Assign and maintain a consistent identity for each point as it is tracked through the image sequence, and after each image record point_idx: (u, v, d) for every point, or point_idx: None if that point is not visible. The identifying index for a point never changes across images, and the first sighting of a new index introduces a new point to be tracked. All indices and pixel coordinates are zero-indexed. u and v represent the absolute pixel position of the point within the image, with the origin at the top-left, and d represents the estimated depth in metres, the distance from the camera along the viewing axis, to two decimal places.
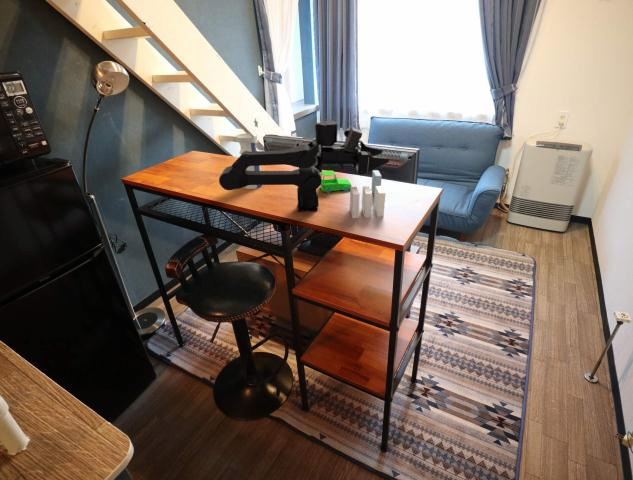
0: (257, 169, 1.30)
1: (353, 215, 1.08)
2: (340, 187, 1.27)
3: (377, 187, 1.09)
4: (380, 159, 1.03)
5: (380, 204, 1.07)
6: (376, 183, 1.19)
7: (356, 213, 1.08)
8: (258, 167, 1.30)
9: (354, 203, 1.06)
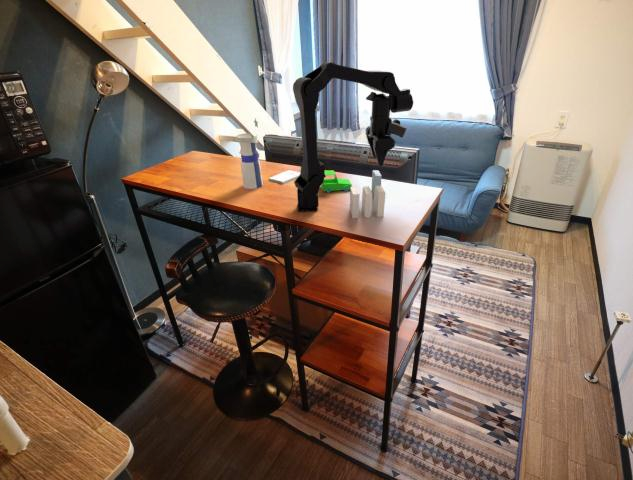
0: (257, 169, 1.30)
1: (353, 215, 1.08)
2: (340, 187, 1.28)
3: (377, 187, 1.09)
4: (383, 158, 1.12)
5: (380, 204, 1.07)
6: (376, 183, 1.19)
7: (356, 213, 1.08)
8: (258, 167, 1.30)
9: (354, 203, 1.06)
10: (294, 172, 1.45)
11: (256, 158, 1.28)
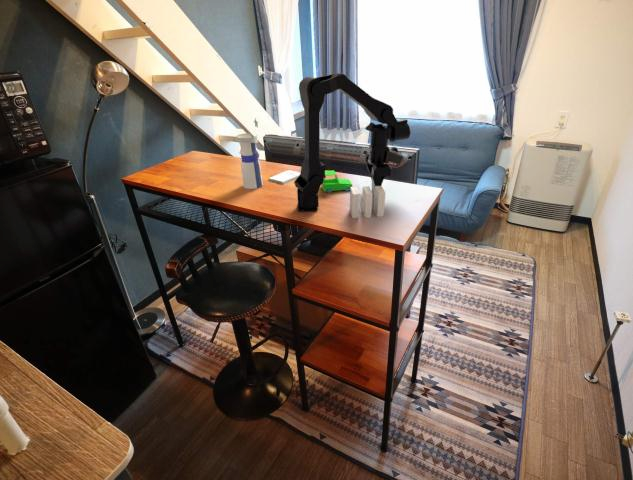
0: (257, 169, 1.30)
1: (353, 215, 1.08)
2: (341, 187, 1.27)
3: (377, 187, 1.09)
4: (380, 183, 1.18)
5: (380, 204, 1.07)
6: None
7: (356, 213, 1.08)
8: (258, 167, 1.30)
9: (354, 203, 1.06)
10: (294, 172, 1.45)
11: (256, 158, 1.28)
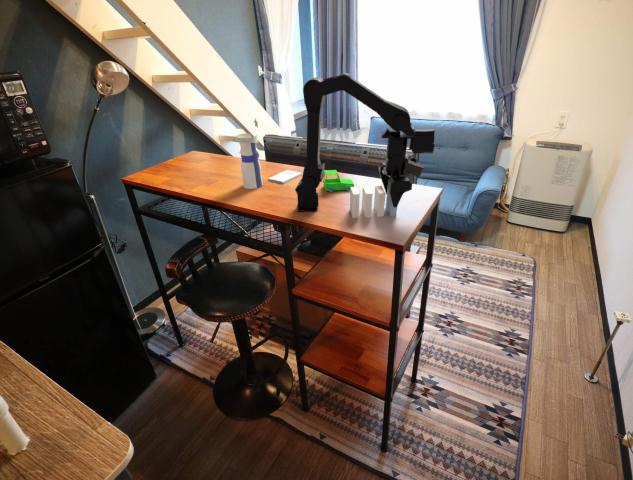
0: (257, 169, 1.30)
1: (353, 215, 1.08)
2: (343, 186, 1.28)
3: (377, 187, 1.09)
4: (398, 199, 1.04)
5: (380, 204, 1.07)
6: None
7: (356, 213, 1.08)
8: (258, 167, 1.30)
9: (354, 203, 1.06)
10: (293, 172, 1.45)
11: (256, 158, 1.28)
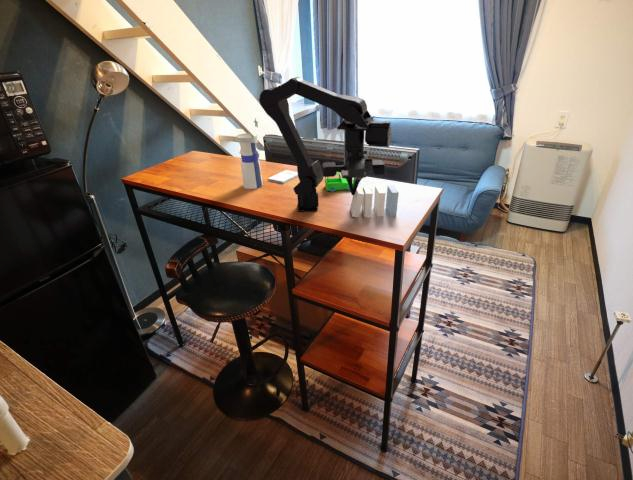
0: (257, 169, 1.30)
1: (354, 214, 1.08)
2: (344, 186, 1.28)
3: (377, 187, 1.09)
4: (349, 186, 1.06)
5: (380, 204, 1.07)
6: (392, 200, 1.06)
7: (356, 212, 1.08)
8: (258, 167, 1.30)
9: (357, 202, 1.06)
10: (292, 172, 1.45)
11: (256, 158, 1.28)
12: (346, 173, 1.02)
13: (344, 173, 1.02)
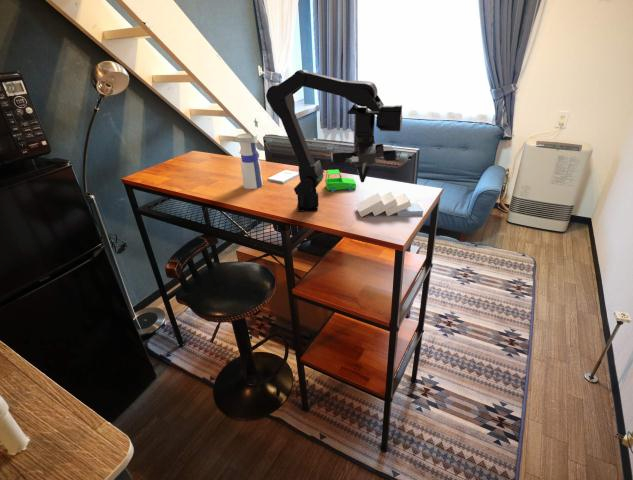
0: (257, 169, 1.30)
1: (361, 212, 1.08)
2: (345, 186, 1.28)
3: (406, 196, 1.11)
4: (358, 173, 1.04)
5: (398, 208, 1.08)
6: (414, 212, 1.09)
7: (364, 212, 1.08)
8: (258, 167, 1.30)
9: (373, 206, 1.07)
10: (291, 172, 1.45)
11: (256, 158, 1.28)
12: (356, 159, 1.00)
13: (354, 159, 1.00)
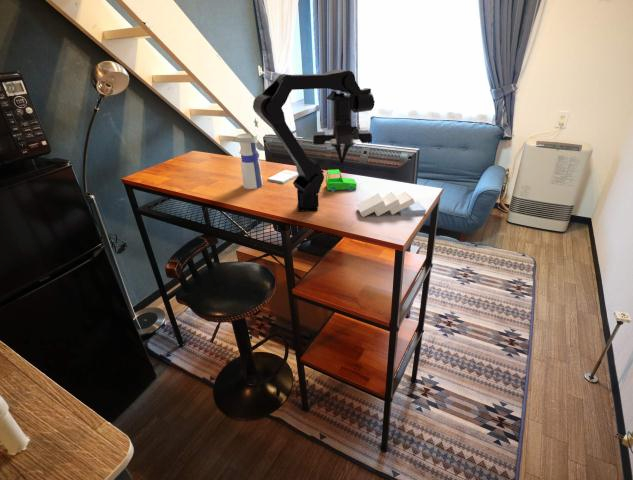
0: (257, 169, 1.30)
1: (362, 212, 1.08)
2: (345, 186, 1.28)
3: None
4: (338, 155, 1.13)
5: (402, 205, 1.08)
6: (417, 211, 1.09)
7: (365, 213, 1.08)
8: (258, 167, 1.30)
9: (375, 206, 1.07)
10: (291, 171, 1.45)
11: (256, 158, 1.28)
12: (335, 141, 1.09)
13: (333, 141, 1.09)
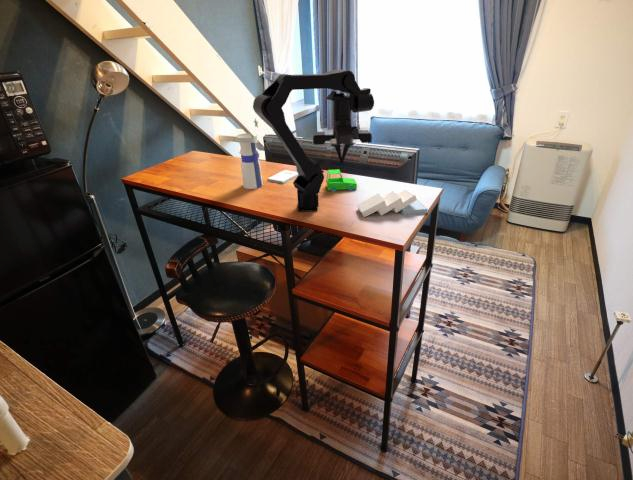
0: (257, 169, 1.30)
1: (364, 212, 1.08)
2: (345, 186, 1.28)
3: None
4: (338, 155, 1.13)
5: (405, 203, 1.09)
6: (419, 210, 1.10)
7: (367, 213, 1.08)
8: (258, 167, 1.30)
9: (376, 206, 1.08)
10: (291, 171, 1.45)
11: (256, 158, 1.28)
12: (335, 141, 1.09)
13: (333, 141, 1.09)
